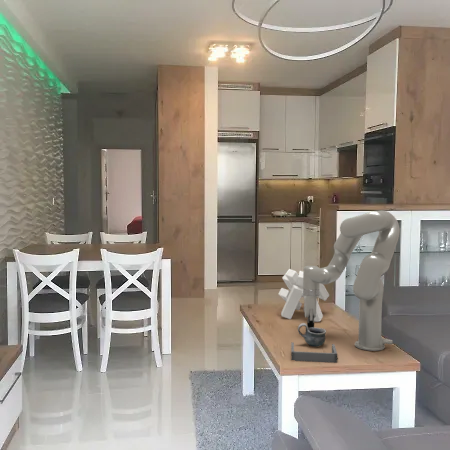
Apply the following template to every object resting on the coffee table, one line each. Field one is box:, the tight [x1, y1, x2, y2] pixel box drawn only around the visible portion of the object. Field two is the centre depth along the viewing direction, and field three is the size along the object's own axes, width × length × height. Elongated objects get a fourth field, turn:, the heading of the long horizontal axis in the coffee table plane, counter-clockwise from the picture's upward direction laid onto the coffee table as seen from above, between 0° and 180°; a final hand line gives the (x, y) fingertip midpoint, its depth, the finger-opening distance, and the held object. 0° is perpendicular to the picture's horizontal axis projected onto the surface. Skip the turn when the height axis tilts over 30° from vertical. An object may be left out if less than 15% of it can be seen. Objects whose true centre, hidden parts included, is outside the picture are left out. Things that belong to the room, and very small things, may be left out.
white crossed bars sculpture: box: [277, 268, 330, 323], centre depth 268 cm, size 35×30×35 cm
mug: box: [297, 322, 327, 348], centre depth 216 cm, size 10×12×10 cm
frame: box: [290, 342, 338, 364], centre depth 202 cm, size 18×13×4 cm
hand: (310, 330), depth 230 cm, fingers closed
